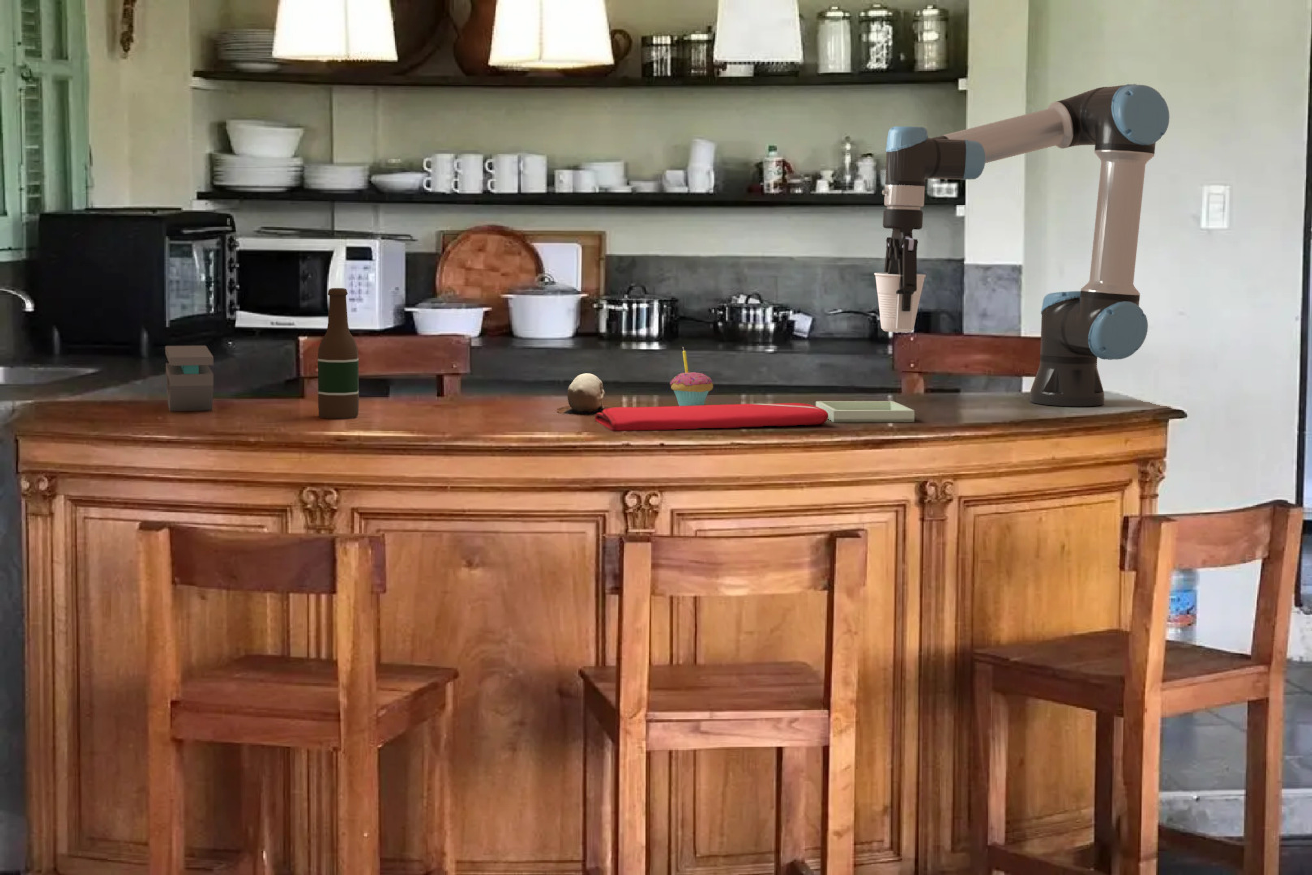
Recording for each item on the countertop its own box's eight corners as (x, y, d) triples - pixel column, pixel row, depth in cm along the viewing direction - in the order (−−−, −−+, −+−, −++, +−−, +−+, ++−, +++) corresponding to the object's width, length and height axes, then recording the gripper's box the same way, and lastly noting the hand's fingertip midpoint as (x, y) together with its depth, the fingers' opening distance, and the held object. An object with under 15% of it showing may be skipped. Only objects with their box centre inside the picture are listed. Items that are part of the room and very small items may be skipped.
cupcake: (663, 408, 369) (664, 347, 368) (679, 403, 377) (680, 344, 376) (704, 410, 366) (705, 349, 365) (719, 406, 374) (720, 346, 372)
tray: (892, 412, 368) (893, 401, 367) (914, 422, 352) (914, 410, 352) (815, 412, 366) (815, 401, 365) (833, 422, 350) (833, 410, 350)
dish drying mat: (594, 423, 349) (594, 403, 348) (802, 419, 358) (803, 400, 358) (612, 434, 334) (612, 413, 333) (829, 429, 343) (829, 409, 343)
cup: (921, 334, 353) (924, 275, 352) (869, 331, 355) (871, 273, 354) (924, 330, 363) (927, 274, 361) (873, 328, 365) (876, 272, 363)
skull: (565, 401, 370) (598, 365, 367) (600, 438, 368) (634, 402, 365) (542, 406, 358) (576, 368, 355) (578, 444, 357) (613, 406, 354)
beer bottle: (367, 415, 351) (366, 288, 348) (347, 420, 344) (346, 290, 341) (330, 413, 354) (329, 286, 350) (309, 418, 346) (308, 288, 343)
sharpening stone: (214, 414, 350) (213, 356, 348) (171, 415, 348) (170, 357, 346) (206, 399, 374) (205, 345, 372) (166, 400, 371) (165, 346, 370)
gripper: (870, 207, 366) (864, 322, 368) (898, 208, 345) (892, 330, 348) (907, 208, 367) (901, 323, 369) (938, 209, 346) (931, 331, 349)
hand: (897, 326), depth 359 cm, fingers closed on cup, 8 cm apart
